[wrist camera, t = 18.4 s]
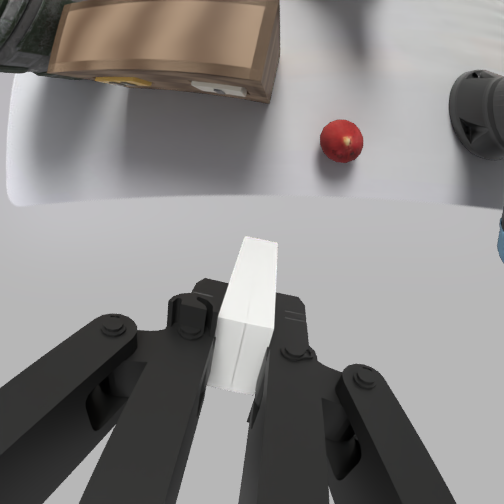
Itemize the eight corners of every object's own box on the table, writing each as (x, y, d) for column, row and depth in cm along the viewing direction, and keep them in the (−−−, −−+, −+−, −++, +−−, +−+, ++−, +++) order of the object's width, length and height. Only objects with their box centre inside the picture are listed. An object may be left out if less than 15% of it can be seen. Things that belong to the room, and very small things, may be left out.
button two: (158, 49, 31) (142, 40, 27) (150, 87, 33) (132, 83, 28) (123, 49, 31) (103, 41, 27) (115, 86, 33) (94, 82, 29)
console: (280, 53, 38) (279, -1, 19) (269, 103, 41) (260, 81, 22) (139, 41, 38) (64, 4, 19) (128, 87, 41) (46, 73, 22)
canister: (100, -14, 33) (-5, -68, 7) (149, 26, 37) (34, -41, 11) (44, 52, 38) (-74, 39, 12) (85, 98, 42) (-51, 99, 16)
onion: (361, 152, 42) (378, 156, 35) (326, 165, 43) (336, 172, 36) (346, 115, 40) (360, 112, 33) (310, 129, 42) (317, 128, 34)
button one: (254, 58, 31) (249, 47, 26) (245, 98, 33) (239, 93, 28) (211, 52, 31) (200, 41, 26) (202, 92, 33) (190, 86, 28)
